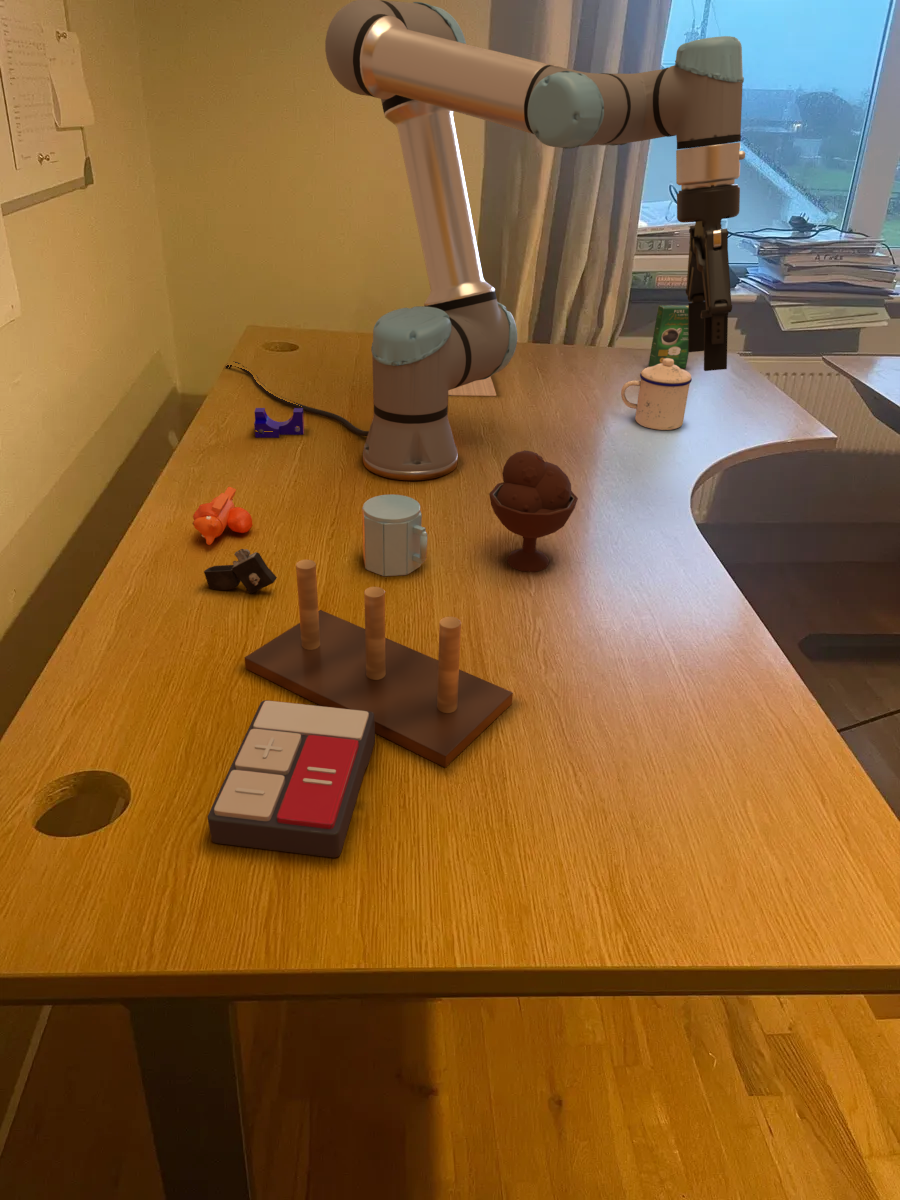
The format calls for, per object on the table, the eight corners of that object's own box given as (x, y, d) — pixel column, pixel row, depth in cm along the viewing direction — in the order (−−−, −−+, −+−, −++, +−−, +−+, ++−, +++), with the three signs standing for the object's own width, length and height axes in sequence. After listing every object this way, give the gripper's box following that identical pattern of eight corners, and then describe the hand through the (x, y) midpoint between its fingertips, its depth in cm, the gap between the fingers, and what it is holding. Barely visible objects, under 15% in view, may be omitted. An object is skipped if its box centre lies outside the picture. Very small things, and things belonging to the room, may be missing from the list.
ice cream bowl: (502, 587, 111) (510, 476, 103) (476, 546, 120) (482, 440, 112) (581, 578, 113) (595, 468, 106) (550, 538, 123) (560, 435, 115)
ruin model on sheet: (410, 357, 194) (410, 311, 189) (484, 358, 195) (487, 313, 190) (412, 394, 172) (413, 344, 167) (496, 395, 174) (499, 345, 168)
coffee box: (681, 365, 195) (692, 303, 188) (687, 369, 193) (698, 306, 186) (647, 366, 193) (656, 304, 186) (653, 370, 191) (662, 307, 184)
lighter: (221, 609, 109) (195, 576, 107) (228, 601, 111) (202, 568, 109) (271, 585, 106) (245, 550, 104) (277, 577, 107) (252, 542, 105)
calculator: (204, 812, 72) (260, 692, 84) (210, 848, 74) (265, 726, 86) (337, 828, 71) (375, 704, 83) (339, 864, 73) (376, 738, 85)
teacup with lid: (682, 416, 167) (692, 354, 161) (685, 433, 159) (696, 368, 153) (617, 410, 168) (625, 349, 162) (617, 427, 160) (626, 363, 154)
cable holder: (255, 437, 151) (253, 414, 149) (257, 430, 154) (255, 407, 152) (302, 437, 152) (301, 415, 150) (304, 430, 155) (303, 408, 153)
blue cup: (352, 564, 115) (351, 508, 110) (387, 543, 120) (386, 489, 116) (408, 586, 110) (409, 528, 106) (442, 564, 115) (443, 508, 111)
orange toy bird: (215, 473, 124) (188, 511, 113) (267, 492, 125) (245, 531, 114) (207, 504, 126) (181, 543, 116) (258, 522, 127) (236, 562, 117)
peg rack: (245, 668, 95) (234, 575, 89) (320, 620, 103) (316, 532, 97) (445, 768, 82) (448, 667, 76) (512, 703, 91) (520, 608, 85)
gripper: (761, 181, 98) (755, 375, 107) (721, 181, 120) (719, 341, 129) (692, 189, 99) (691, 381, 108) (664, 188, 121) (666, 346, 130)
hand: (706, 360), depth 118 cm, fingers open, 13 cm apart
